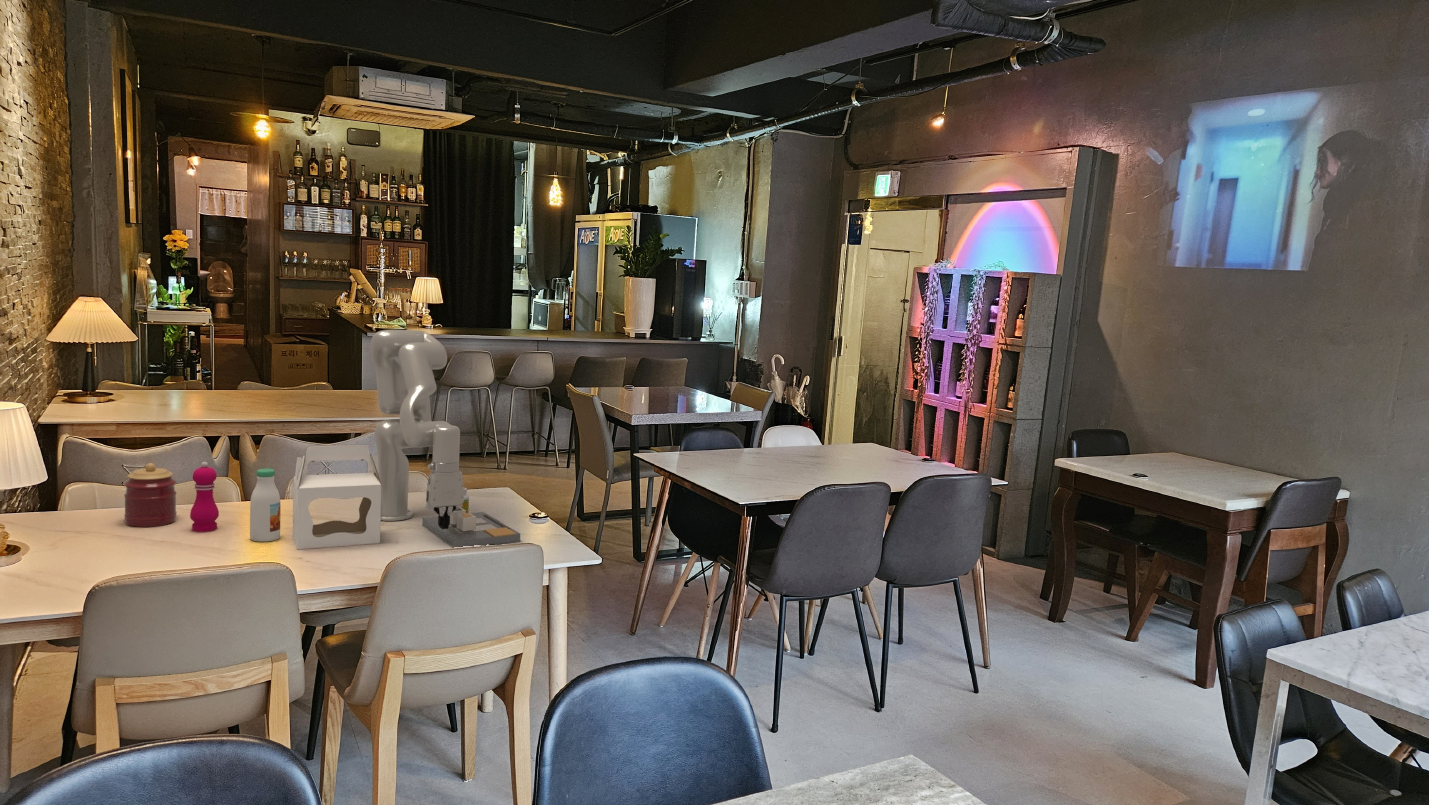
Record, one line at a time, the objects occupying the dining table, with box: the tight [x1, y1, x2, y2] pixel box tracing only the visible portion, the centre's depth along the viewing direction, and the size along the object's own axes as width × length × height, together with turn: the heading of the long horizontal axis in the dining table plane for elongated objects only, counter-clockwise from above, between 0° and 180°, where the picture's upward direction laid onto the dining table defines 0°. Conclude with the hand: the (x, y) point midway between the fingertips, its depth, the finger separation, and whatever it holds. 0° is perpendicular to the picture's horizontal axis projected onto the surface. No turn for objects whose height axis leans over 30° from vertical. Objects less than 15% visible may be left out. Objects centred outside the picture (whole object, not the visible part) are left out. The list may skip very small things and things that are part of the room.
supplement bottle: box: [461, 487, 470, 513], centre depth 288 cm, size 5×5×10 cm
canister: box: [123, 462, 177, 528], centre depth 259 cm, size 13×13×18 cm
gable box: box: [292, 443, 382, 550], centre depth 253 cm, size 22×13×28 cm, turn 120°
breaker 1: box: [450, 507, 466, 525], centre depth 271 cm, size 4×5×4 cm
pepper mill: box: [189, 461, 220, 533], centre depth 255 cm, size 7×7×20 cm
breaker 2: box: [457, 512, 476, 531], centre depth 265 cm, size 4×5×4 cm
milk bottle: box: [249, 468, 281, 543], centre depth 250 cm, size 8×8×20 cm
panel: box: [421, 511, 521, 548], centre depth 271 cm, size 20×28×3 cm
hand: (443, 528), depth 261 cm, fingers closed
